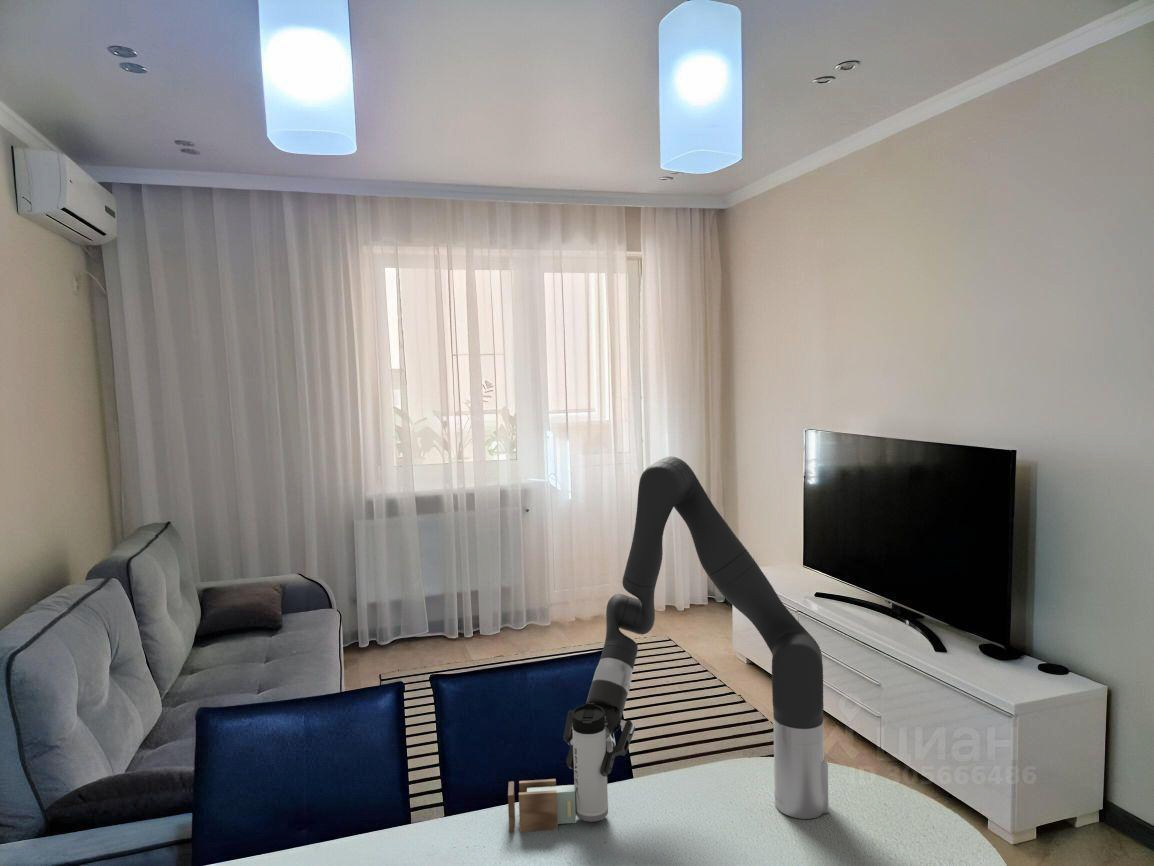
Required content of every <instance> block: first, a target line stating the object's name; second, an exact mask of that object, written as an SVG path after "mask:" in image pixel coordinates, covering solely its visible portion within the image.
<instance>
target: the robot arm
mask: <svg viewBox="0 0 1154 866" xmlns="http://www.w3.org/2000/svg"><path fill="white" fill-rule="evenodd" d="M673 509H675V511H676V512H677V513H678V514H679V515H680V517H681V518H682V520H683V522H684V523H685V524H686V526H687V528H688V530H689V532H690V535H691V538H692V542H693V544H694V548H695V552H696V554H697V557H698V560H699V563H700V564H701V567H702V568H703V571H704V572H705V573H706V575H707V577H709V579H710V580H711V581H712V583H713V585H714V586H715V588H716V589H717V590H718V591H719V593H720V594H721V595H722V596H723V597H724V598H725V600H727V601H728V603H730V604H731V605H732V606H733V607H734V608H736V610H738V611H739V612H740V613H742V614H743V615H744V616H745V617H746V618H747V619H748V620H749V621H750V622H751V624H753V626H754V627H755V628H756V630H757V631H758V633H759V634H760V636H761V638H762V639H763V640H764V642H765V644H766V645H767V647H768V649H769V651H770V652H771V656H772V657H771V658H772V659H771V687H772V688H771V691H772V692H771V693H772V698H771V699H772V700H771V701H772V713H773V715H772V717H773V758H774V759H773V765H774V767H773V770H774V804H775V807H776V809H777V810H778V811H779V812H781V813H782V814H784V815H786V816H788V817H792V818H795V819H801V820H807V819H808V820H811V819H815V818H818V817H820V816H822V815H823V814H829V811H830V810H829V808H830V805H829V801H830V799H829V763H828V762H827V761H826V760H825V758H824V757H825V755H824V752H825V750H824V746H825V745H824V744H825V743H824V741H825V740H824V664H823V655H822V650H821V649H820V648H821V647H820V646H819V643H817V641H816V639H815V638H813V636H812V635H811V634H810V633H809V631H807V630H806V628H805V627H804V625H802V624H801V623H800V621H798V620H797V619H796V617H795V616H794V615H793V614H792V613H791V612H790V610H789V609H788V608H787V607H786V606H785V604H784V603H783V601H782V600H781V598H780V597H779V595H778V594H777V592H776V591H775V589H774V587H773V586H772V583H770V581H769V579H768V578H767V577H766V575H765V574H764V572H763V570H762V569H761V568H760V566H759V564H758V563H757V561H756V560H755V559H754V558H753V556H752V555H751V554H750V552H749V551H748V549H747V548H746V547H745V546H744V544H743V543H742V541H740V539H739V538H738V537H737V535H736V534H735V532H734V531H733V530H732V529H731V527H730V526H729V524H728V523H727V522H726V521H725V519H724V518H723V516H722V515H721V514H720V513H719V511H718V510H717V508H716V507H715V505H714V504H713V503H712V501H711V499H710V498H709V496H708V494H707V492H706V491H705V489H704V488H703V486H702V484H701V482H700V480H699V479H698V477H697V475H696V474H695V472H694V471H693V469H692V468H691V466H689V464H688V463H687V462H686V461H684V460H683V459H682V458H679V457H676V456H666V457H663V458H661V459H659V460H657V461H656V462H654V463H653V464H650V466H648V467H646V468H645V469H644V471H643V472H642V474H641V476H640V478H639V482H638V492H637V505H636V513H635V522H634V523H635V524H634V530H633V535H632V542H631V546H630V549H629V554H628V558H627V560H626V565H625V569H624V572H623V577H622V582H621V583H622V587H623V589H624V590H625V591H626V593H629V594H630V595H632V596H634V597H631V596H628V595H625V594H623V593H617V594H614V595H613V596H611V597H610V598H609V600H608V601H607V605H606V610H605V611H606V613H605V618H606V621H605V622H606V629H605V630H606V631H605V632H606V633H605V639H604V644H603V648H602V652H601V655H600V659H599V662H598V663H597V664H598V665H597V666H596V669H595V671H594V675H593V679H592V681H591V685H590V688H589V691H588V695H587V699H586V702H585V703H594V705H597V706H600V707H601V708H603V710H604V712H605V731H606V753H605V756H604V759H603V762H602V766H601V770H600V773H601V775H602V776H605V777H607V778H608V775H610V774H611V772H612V769H613V767H614V762H615V758H616V757H618V756H626V755H627V752H628V749H629V747H630V744H631V741H632V739H633V736H634V733H635V730H636V726H635V725H634V723H633V722H632V720H629V719H628V720H624V719H623V713H624V710H625V707H626V704H627V703H626V702H627V698H628V695H629V691H630V689H631V683H632V677H633V671H634V666H635V663H636V659H637V655H638V650H639V647H638V644H637V643H636V641H635V640H633V639H632V638H631V637H629V636H627V635H625V634H624V633H623V632H622V631H621V630H624V631H627V632H631V633H634V634H637V635H642V636H644V635H646V634H647V633H649V632H650V631H651V630H652V629H653V627H654V624H655V619H656V618H655V617H656V611H655V592H656V591H655V589H656V586H657V581H658V579H659V575H660V571H661V566H662V562H663V554H664V553H663V550H664V548H663V541H664V539H663V538H664V531H665V528H666V523H667V521H668V520H669V518H670V515H671V513H672V511H673ZM635 597H636V598H635ZM620 629H621V630H620ZM573 711H574V709H569V710H568V711H567V715H566V720H565V721H566V722H565V725H564V730H563V736H562V738H563V740H564V741H565V742H566V744H567V745H568V746H569V750H568V752H567V756H566V760H565V761H566V762H565V763H566V764H567V767H568V768H569V769H570V770H573V771H574V758H573V730H572V727H573V721H572V713H573ZM620 728H621V729H620ZM618 730H621V734H620V736H619V739H618V742H617V745H616V738H615V733H616V732H617V731H618Z"/></svg>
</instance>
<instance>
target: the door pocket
mask: <svg viewBox="0 0 1154 866" xmlns="http://www.w3.org/2000/svg"><path fill="white" fill-rule="evenodd" d="M518 786H519V787H518V790H519V792H518V810H519V812H518V815H519V832H520V833H524V832H536V831H537V832H538V831H555V830H554V829H557V830H559V829H558V826H559V825H558V824H557V791H556V790H552V791H536V792H527V788H530V787H547V786H557V780H556V778H549V779H534V780H530V779H529V780H519V782H518ZM507 789H508V790H507V802H508V803H507V806H508V807H507V809H508V833H515V829H516V808H515V805H516V804H515V801H516V800H515V781H512V780H511V781H508V788H507Z"/></svg>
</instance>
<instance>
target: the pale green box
mask: <svg viewBox="0 0 1154 866" xmlns="http://www.w3.org/2000/svg"><path fill="white" fill-rule="evenodd" d="M552 790H556V791H557V825H560V824H576V823H577V820H576V819H577V818H576V817H577V815H576V811H575V787H574V784H567V785H566V784H565V785H556V786H547V787H530V788H527V792H536V791H552Z"/></svg>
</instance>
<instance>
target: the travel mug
mask: <svg viewBox="0 0 1154 866" xmlns="http://www.w3.org/2000/svg"><path fill="white" fill-rule="evenodd" d="M572 721H573V727H572V730H573V758H574V770H573V779H574V781H573V783H574V784H573V785H574V787H575V811H576V817H577V818H578V819H580V820H582V821H583V822H588V823H589V822H590V823H591V822H592V823H593V822H598V821H601V820H603V819H605V818H606V817H607V816H608V814H609V799H608V798H609V795H608V793H609V792H608V776H607V777H605V776H602V775H601V773H600V770H601V766H602V762H603V759H604V756H605V753H607V747H606V731H605V712H604V710H603V708H601V707H600V706H597V705H594V703H586V702H585V704H582V705H579V706H577V707H575V708H574V709H573V713H572Z"/></svg>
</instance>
